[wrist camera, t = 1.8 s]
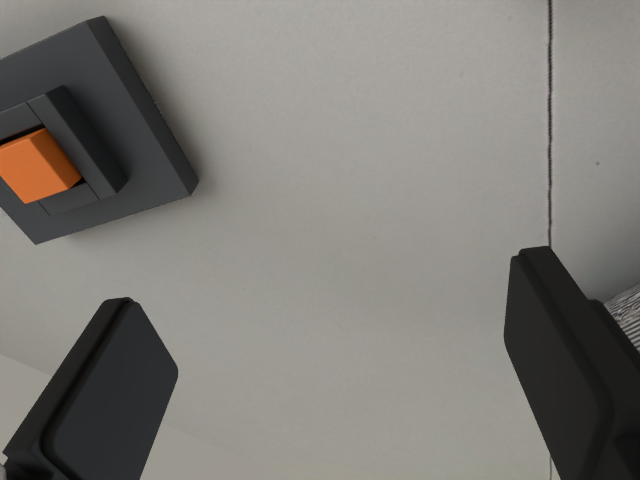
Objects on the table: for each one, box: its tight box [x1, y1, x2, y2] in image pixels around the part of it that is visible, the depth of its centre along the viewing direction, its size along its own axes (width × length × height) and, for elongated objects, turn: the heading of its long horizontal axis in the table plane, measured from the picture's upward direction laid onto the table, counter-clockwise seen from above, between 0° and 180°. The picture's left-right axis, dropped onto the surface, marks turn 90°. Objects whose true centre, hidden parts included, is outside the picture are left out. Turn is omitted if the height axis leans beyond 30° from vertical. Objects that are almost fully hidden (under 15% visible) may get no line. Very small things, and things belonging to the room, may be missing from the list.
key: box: [0, 128, 82, 204], centre depth 22 cm, size 3×3×2 cm
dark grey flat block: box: [0, 16, 199, 245], centre depth 24 cm, size 10×12×4 cm
